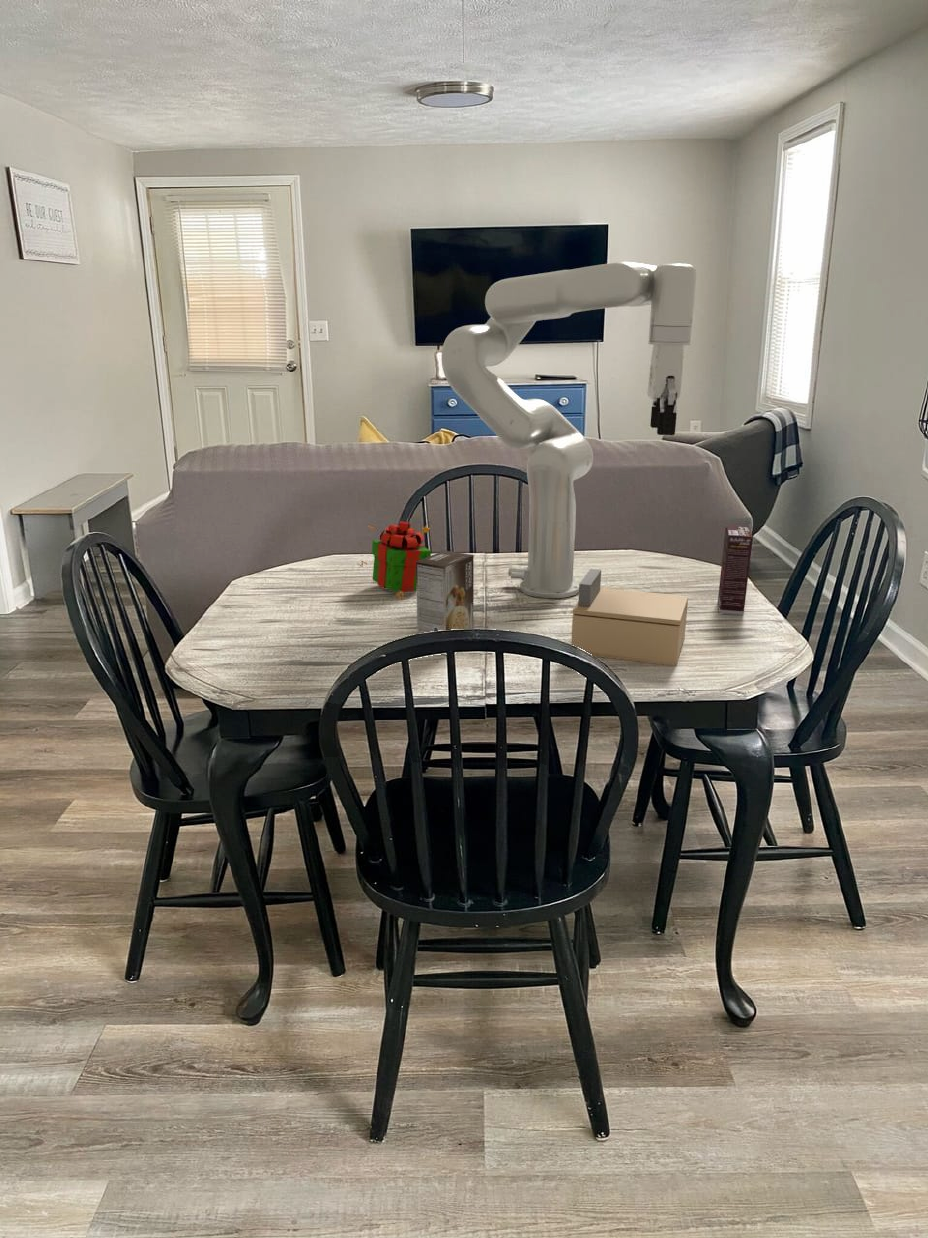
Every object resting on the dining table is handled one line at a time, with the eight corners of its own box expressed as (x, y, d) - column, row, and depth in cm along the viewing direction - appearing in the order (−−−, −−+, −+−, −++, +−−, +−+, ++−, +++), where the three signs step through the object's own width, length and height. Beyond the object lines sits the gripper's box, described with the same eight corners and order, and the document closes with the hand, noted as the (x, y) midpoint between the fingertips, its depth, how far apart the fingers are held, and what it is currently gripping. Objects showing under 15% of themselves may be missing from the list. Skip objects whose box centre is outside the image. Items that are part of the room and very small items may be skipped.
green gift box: (453, 598, 197) (462, 532, 192) (376, 604, 186) (383, 534, 182) (405, 571, 212) (412, 509, 207) (331, 574, 201) (337, 510, 197)
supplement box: (744, 616, 181) (753, 536, 175) (719, 614, 182) (727, 535, 176) (741, 602, 189) (749, 526, 183) (717, 601, 190) (724, 525, 184)
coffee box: (444, 634, 170) (444, 549, 165) (474, 640, 167) (475, 554, 162) (416, 649, 163) (415, 560, 157) (446, 656, 160) (446, 566, 154)
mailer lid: (572, 613, 159) (573, 586, 157) (588, 590, 171) (589, 565, 170) (679, 625, 153) (682, 597, 152) (687, 600, 166) (690, 574, 164)
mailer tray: (570, 653, 161) (572, 615, 159) (586, 627, 174) (588, 592, 171) (676, 666, 156) (679, 626, 153) (684, 638, 168) (687, 602, 166)
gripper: (643, 334, 177) (637, 424, 183) (655, 338, 161) (647, 437, 167) (683, 334, 177) (675, 425, 183) (698, 338, 161) (689, 438, 166)
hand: (662, 431), depth 175 cm, fingers open, 9 cm apart
